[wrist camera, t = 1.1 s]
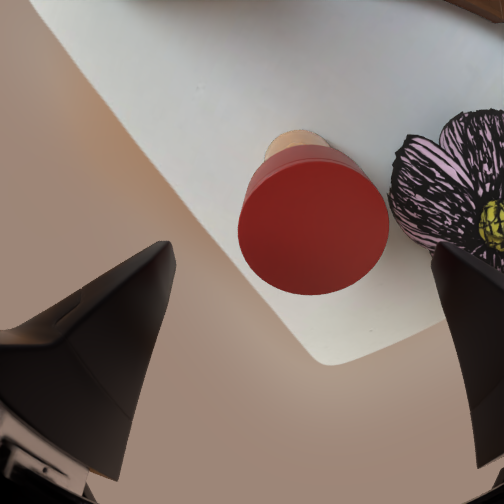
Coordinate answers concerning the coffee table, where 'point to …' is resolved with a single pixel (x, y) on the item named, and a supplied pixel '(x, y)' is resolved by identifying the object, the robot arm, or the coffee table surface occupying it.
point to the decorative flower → (454, 186)
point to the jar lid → (312, 221)
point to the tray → (483, 8)
